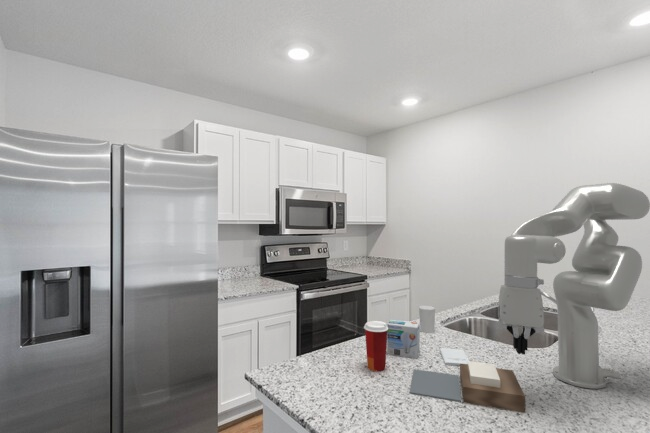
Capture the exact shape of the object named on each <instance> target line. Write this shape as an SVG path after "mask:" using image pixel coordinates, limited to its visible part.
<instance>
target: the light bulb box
mask: <svg viewBox="0 0 650 433" xmlns="http://www.w3.org/2000/svg"><path fill="white" fill-rule="evenodd" d="M386 324H387V327H388V330H387V347H386V355H391V356H396V357H397V356H398V357H404V358H409V359H414V360H415V359H416V360H418V357H419V354H420V349H421V348H420V344H421V343H420V333H421V331H420V321H408V320H399V319H392V318H391V319H390V320H389V322H388V323H386Z"/></svg>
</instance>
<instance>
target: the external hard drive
mask: <svg viewBox="0 0 650 433" xmlns="http://www.w3.org/2000/svg"><path fill="white" fill-rule="evenodd" d="M439 352H440V356H441V357H442V360H443V364H444V365H445V366H450V367H460V364H468V361H470V359H469V358H468V355H467V353H466V352H465V350H464V349H457V348H445V347H444V348H443V347H440V348H439Z"/></svg>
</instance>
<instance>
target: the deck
mask: <svg viewBox="0 0 650 433" xmlns="http://www.w3.org/2000/svg"><path fill="white" fill-rule="evenodd" d="M496 370H497V373H498V375H499V378H500V388H498V387H491V386H484V385H477V384H471V383H470V377H469V372H468V364H460V366H459V378H460V380H459V381H460V386H461V397H462V402H463V403H464V404H471V405H476V406H482V407H489V408H496V409H502V410H507V411H513V412H519V413H526V395H525V392H524V391H523V389H522V387H521V384H520V382H519V380H518V378H517V376H516V374H515V373H514V370H513V369H504V368H498V367H496Z"/></svg>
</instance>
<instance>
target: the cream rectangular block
mask: <svg viewBox="0 0 650 433" xmlns="http://www.w3.org/2000/svg"><path fill="white" fill-rule="evenodd" d="M496 368H497V367H496V365H495V363H487V362H481V361H480V362H478V361H473V360H472V361H470V360H469V361H468V372H469V377H470V383H471V384H477V385H484V386H491V387H498V388H500V378H499V375H498V373H497V370H496Z"/></svg>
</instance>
